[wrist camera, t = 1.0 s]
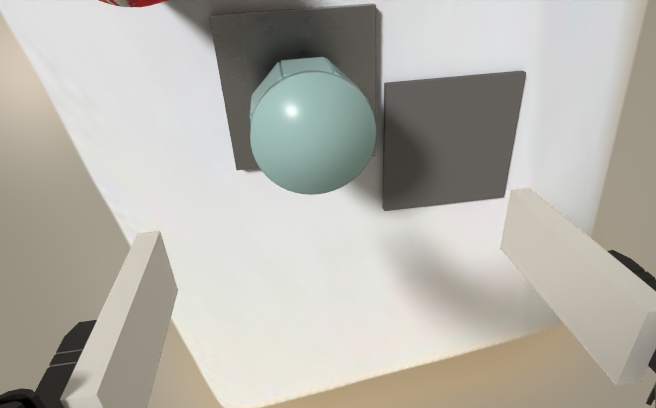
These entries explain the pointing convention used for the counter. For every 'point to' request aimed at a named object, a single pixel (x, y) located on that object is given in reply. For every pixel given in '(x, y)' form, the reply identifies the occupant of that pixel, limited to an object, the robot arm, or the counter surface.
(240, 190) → the counter surface
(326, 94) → the cap
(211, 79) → the counter surface
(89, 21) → the counter surface
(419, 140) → the mat
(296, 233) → the counter surface
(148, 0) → the soda can
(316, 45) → the post
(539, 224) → the robot arm
